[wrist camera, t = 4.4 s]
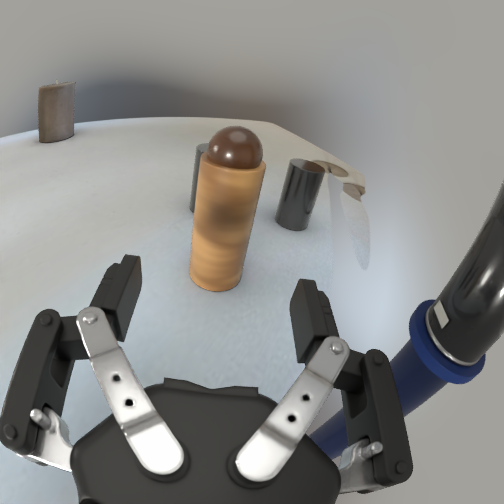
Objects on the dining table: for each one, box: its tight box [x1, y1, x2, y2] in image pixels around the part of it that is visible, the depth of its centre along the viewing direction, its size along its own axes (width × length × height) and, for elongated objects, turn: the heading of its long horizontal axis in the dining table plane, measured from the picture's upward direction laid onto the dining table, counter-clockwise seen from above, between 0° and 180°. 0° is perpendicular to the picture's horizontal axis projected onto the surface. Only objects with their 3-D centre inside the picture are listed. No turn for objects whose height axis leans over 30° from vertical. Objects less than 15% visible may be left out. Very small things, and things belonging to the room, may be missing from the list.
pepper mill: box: [189, 126, 266, 291], centre depth 22 cm, size 5×5×14 cm
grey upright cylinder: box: [190, 143, 209, 213], centre depth 33 cm, size 4×4×8 cm
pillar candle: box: [38, 80, 75, 143], centre depth 48 cm, size 10×10×15 cm
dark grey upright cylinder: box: [275, 159, 325, 231], centre depth 35 cm, size 4×4×8 cm
